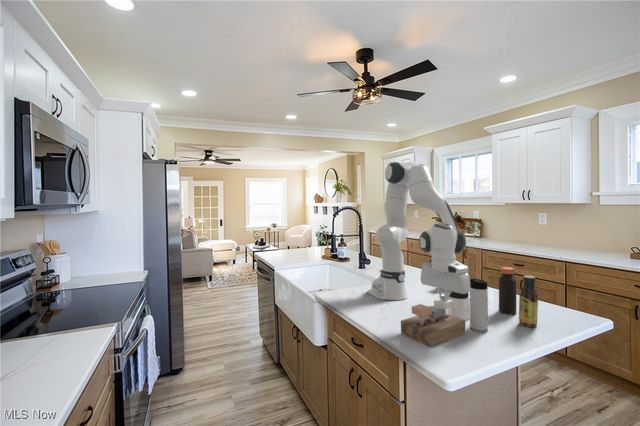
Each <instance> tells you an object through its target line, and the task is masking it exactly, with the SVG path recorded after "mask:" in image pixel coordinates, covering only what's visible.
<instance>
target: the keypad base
mask: <svg viewBox="0 0 640 426" xmlns="http://www.w3.org/2000/svg"><path fill="white" fill-rule="evenodd" d="M400 334H401V335H404V336H405V337H408V338H410V339H413V340H415V341H417V342H419V343H421V344H422V345H423V344H424V345H426V346H428V347H430V348H432V347H435V346H438V345H440V344H443V343H444V342H447V341H450V340H453V339H454V338H457V337H459V336H461V335H462V336H463V335H464V334H466V321H465V320H463V319H460V318H457V317H454V316H451V315H448V314H447V313H446V318H445V319H444V318H441V316H440V317H437V318H435V322H431V321H430V317H428V316H425V317H424V326H423V327H422V326H419V316H418V315H414V316H411V317H408V318H404V319H402V320H400Z"/></svg>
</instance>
